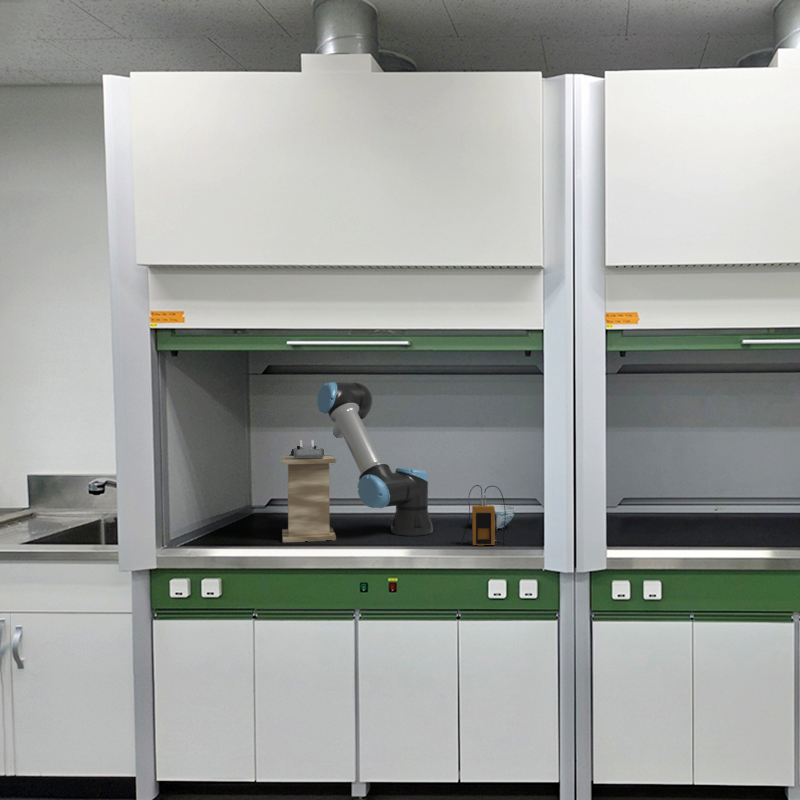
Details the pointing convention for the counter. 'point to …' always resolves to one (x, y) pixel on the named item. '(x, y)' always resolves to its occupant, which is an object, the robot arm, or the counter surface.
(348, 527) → the counter surface
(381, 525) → the counter surface
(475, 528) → the multimeter
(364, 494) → the robot arm
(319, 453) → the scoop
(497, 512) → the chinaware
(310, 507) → the stand
